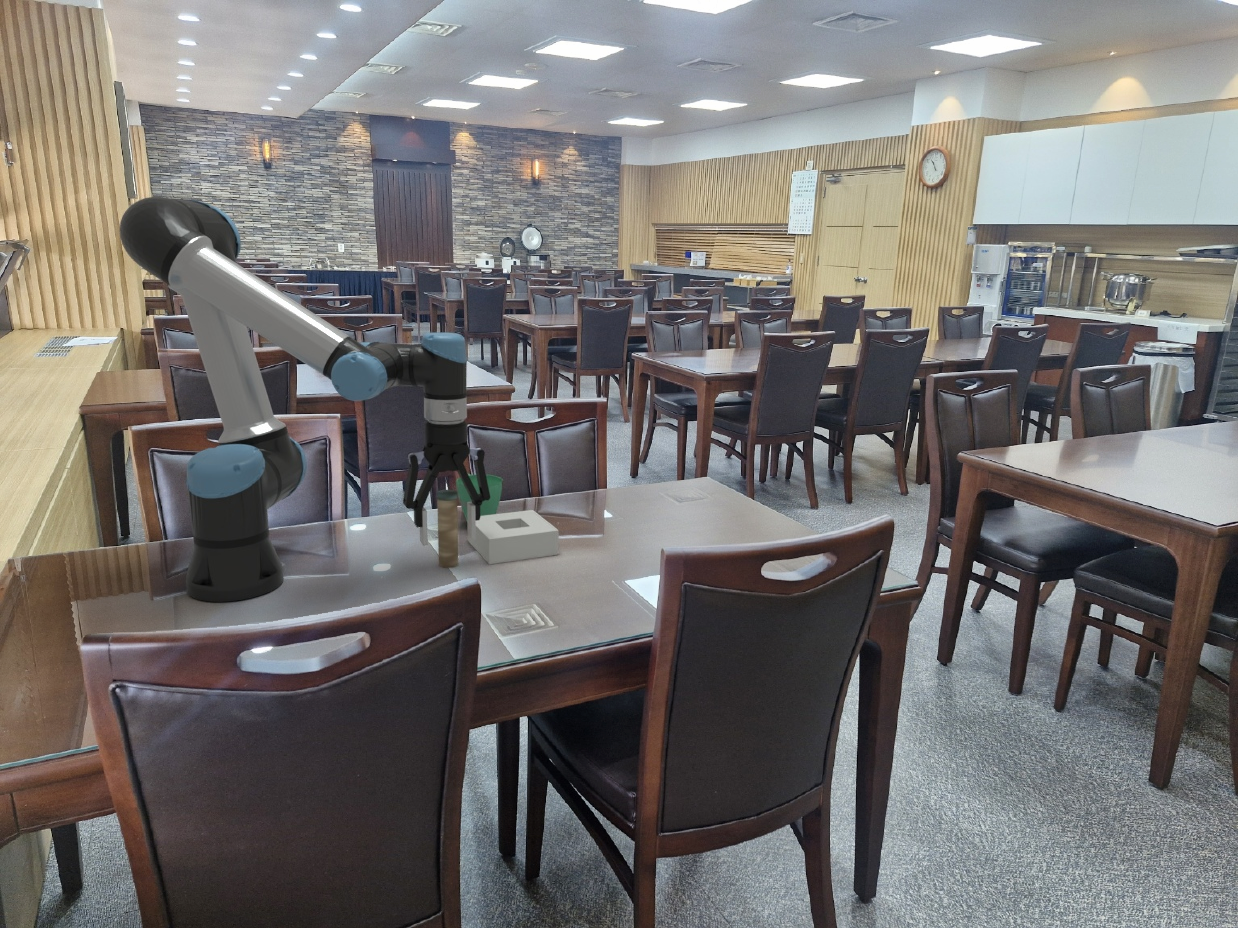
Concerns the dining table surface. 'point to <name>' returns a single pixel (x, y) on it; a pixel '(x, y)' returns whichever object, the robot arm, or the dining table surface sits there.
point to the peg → (447, 528)
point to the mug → (488, 505)
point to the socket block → (514, 537)
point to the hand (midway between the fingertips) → (448, 539)
